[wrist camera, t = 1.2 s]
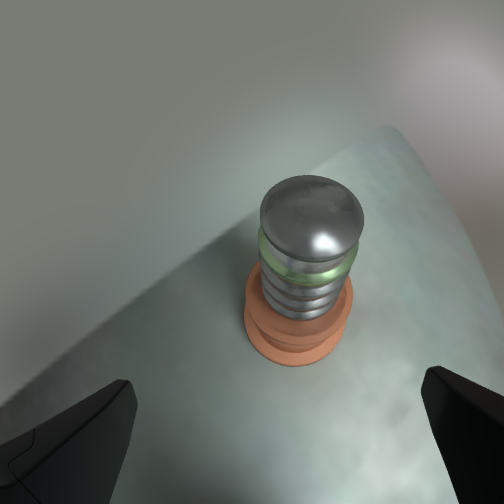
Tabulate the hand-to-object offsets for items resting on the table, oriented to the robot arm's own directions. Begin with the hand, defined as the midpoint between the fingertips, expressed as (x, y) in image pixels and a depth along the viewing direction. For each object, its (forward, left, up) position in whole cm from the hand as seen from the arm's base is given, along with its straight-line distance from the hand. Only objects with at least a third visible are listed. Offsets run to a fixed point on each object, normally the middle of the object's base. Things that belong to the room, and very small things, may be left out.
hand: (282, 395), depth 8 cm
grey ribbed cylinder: (+1, -7, -9) cm, 12 cm away
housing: (+1, -7, -14) cm, 16 cm away
